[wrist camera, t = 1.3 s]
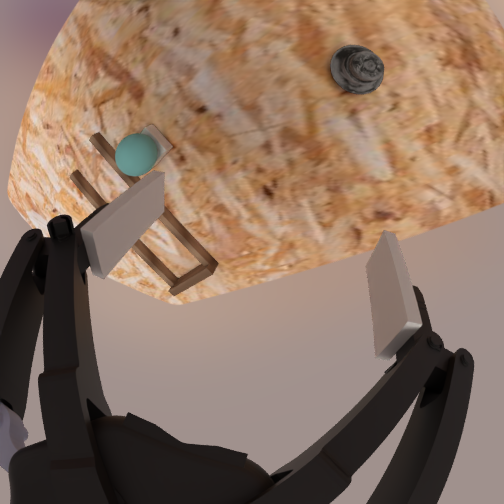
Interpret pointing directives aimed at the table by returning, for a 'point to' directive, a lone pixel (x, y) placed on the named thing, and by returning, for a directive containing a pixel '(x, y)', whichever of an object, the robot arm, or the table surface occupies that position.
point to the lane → (166, 218)
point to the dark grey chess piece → (357, 69)
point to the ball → (136, 154)
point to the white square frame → (157, 141)
